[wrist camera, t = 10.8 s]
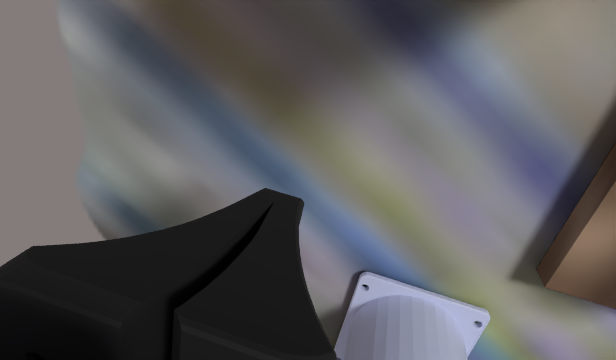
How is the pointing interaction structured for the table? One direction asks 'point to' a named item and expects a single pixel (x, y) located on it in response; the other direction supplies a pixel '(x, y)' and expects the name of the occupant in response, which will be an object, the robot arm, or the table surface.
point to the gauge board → (587, 243)
